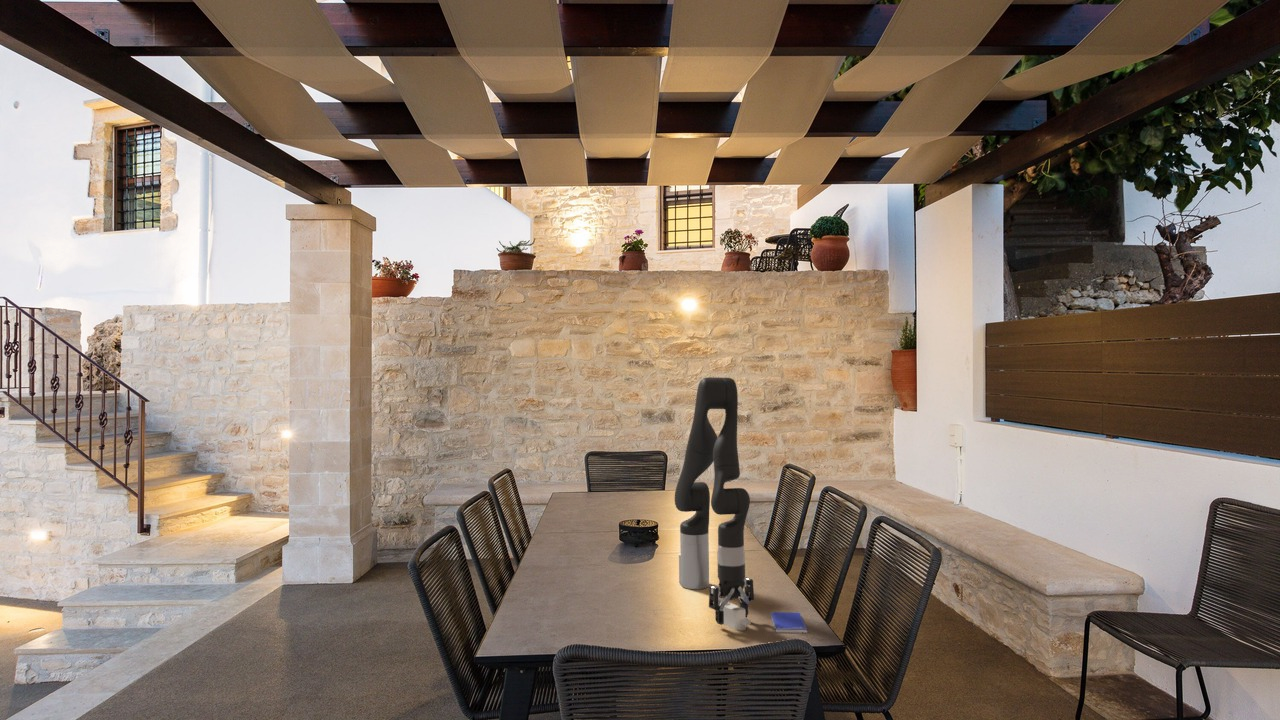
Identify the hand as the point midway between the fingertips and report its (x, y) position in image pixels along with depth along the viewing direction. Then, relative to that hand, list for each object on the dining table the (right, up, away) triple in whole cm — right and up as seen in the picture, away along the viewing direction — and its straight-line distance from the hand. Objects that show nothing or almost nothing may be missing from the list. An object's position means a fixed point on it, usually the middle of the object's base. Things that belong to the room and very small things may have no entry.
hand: (732, 620), depth 190 cm
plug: (0, -1, 0) cm, 1 cm away
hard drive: (+16, -2, 0) cm, 16 cm away
